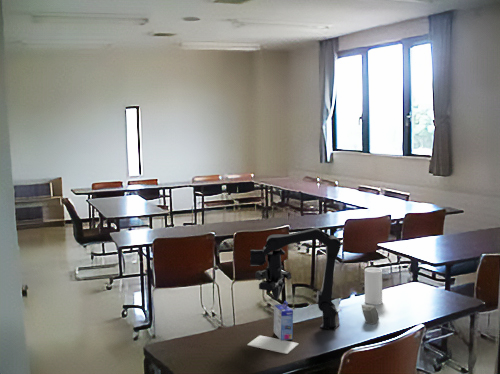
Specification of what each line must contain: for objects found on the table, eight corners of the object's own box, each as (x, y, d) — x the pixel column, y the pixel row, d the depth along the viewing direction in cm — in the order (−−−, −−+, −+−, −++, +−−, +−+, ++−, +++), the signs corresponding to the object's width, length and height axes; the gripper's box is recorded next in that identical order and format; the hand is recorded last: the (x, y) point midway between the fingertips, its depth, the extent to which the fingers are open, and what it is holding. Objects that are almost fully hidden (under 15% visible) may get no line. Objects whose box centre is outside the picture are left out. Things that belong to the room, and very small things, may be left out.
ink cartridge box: (293, 339, 217) (293, 304, 216) (280, 341, 216) (280, 306, 214) (285, 331, 227) (285, 298, 225) (273, 332, 225) (273, 299, 224)
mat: (259, 336, 222) (259, 335, 222) (298, 344, 213) (298, 343, 213) (247, 345, 214) (247, 344, 214) (287, 354, 205) (287, 353, 205)
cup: (361, 300, 261) (361, 268, 259) (376, 297, 263) (376, 266, 261) (370, 305, 253) (370, 272, 251) (385, 303, 255) (385, 270, 253)
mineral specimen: (358, 317, 237) (362, 300, 236) (378, 322, 235) (381, 305, 234) (357, 322, 230) (361, 305, 229) (377, 328, 228) (381, 310, 227)
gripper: (269, 257, 239) (270, 291, 241) (247, 268, 224) (249, 304, 226) (291, 259, 233) (292, 294, 235) (270, 271, 218) (272, 308, 220)
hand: (276, 299), depth 229 cm, fingers closed
